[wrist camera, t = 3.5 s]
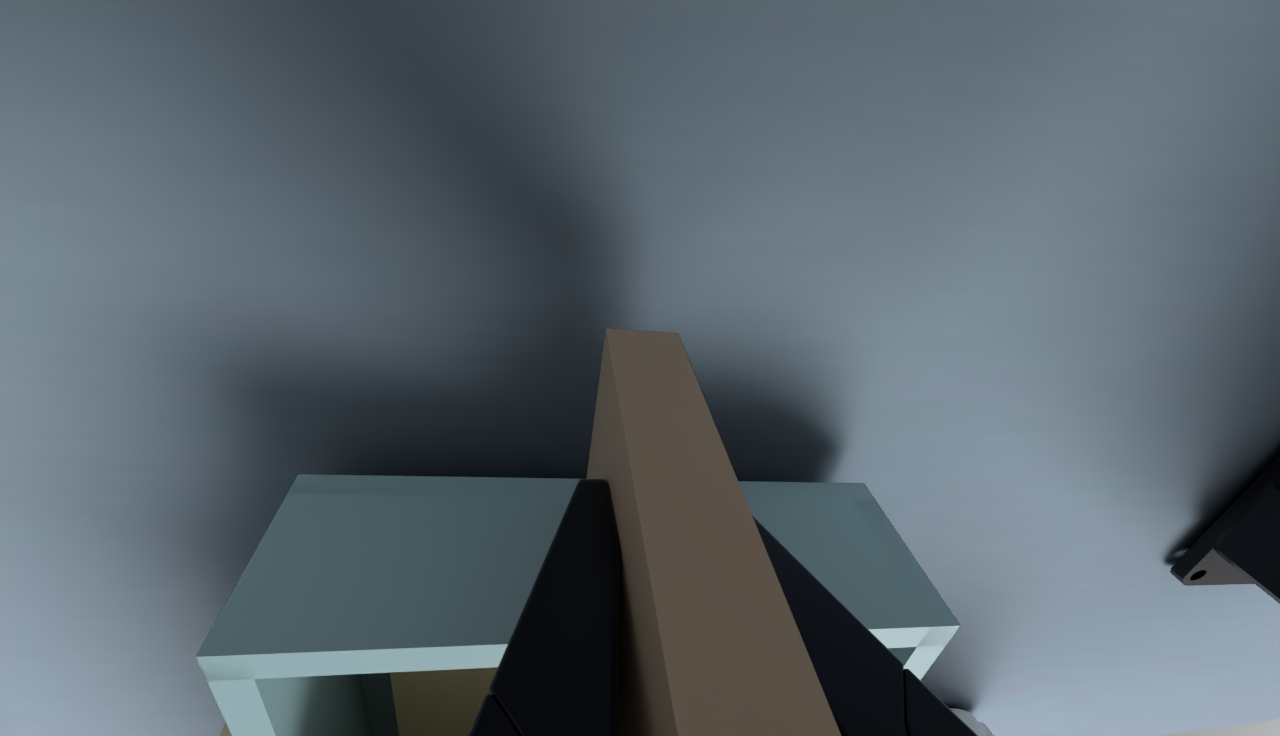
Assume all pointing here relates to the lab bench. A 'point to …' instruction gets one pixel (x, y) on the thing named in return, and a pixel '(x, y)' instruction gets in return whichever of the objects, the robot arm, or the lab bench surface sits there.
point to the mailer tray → (510, 562)
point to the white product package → (972, 722)
